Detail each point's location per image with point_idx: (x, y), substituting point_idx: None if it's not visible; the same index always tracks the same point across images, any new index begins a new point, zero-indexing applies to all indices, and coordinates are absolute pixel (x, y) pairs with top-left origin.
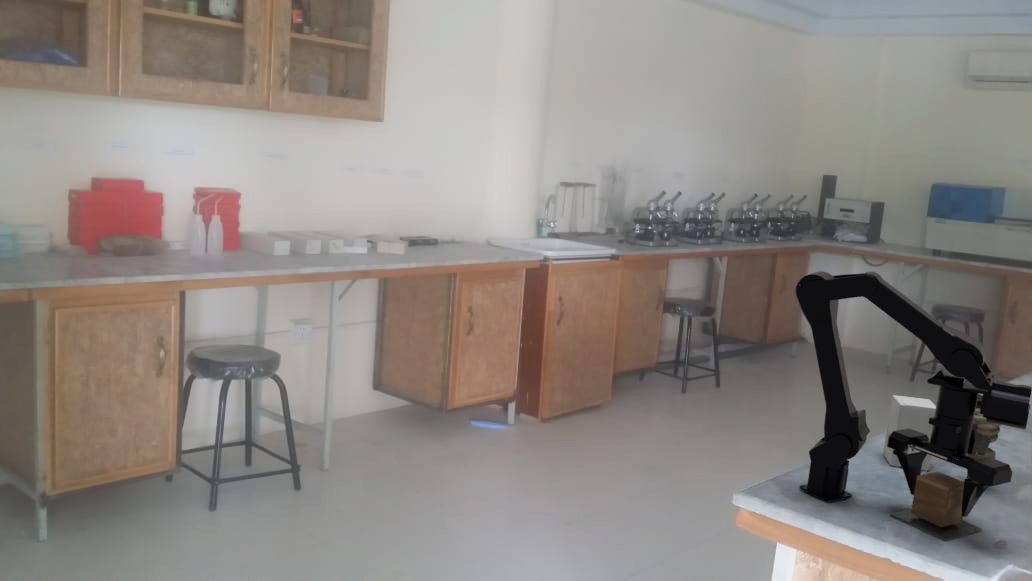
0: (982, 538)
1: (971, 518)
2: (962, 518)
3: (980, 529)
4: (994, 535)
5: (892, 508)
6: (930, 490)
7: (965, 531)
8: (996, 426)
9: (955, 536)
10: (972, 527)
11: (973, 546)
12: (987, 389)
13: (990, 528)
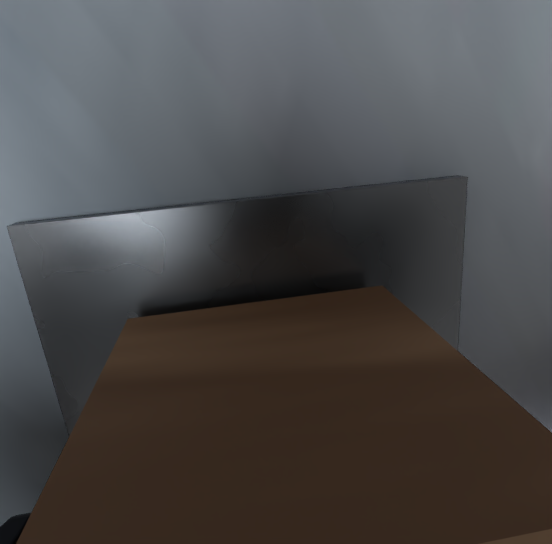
0: (515, 272)
1: (289, 24)
2: (393, 295)
3: (463, 192)
4: (532, 146)
5: (8, 482)
6: None
7: (443, 335)
8: None
9: None
10: (428, 232)
11: (537, 407)
12: None
13: (462, 53)
